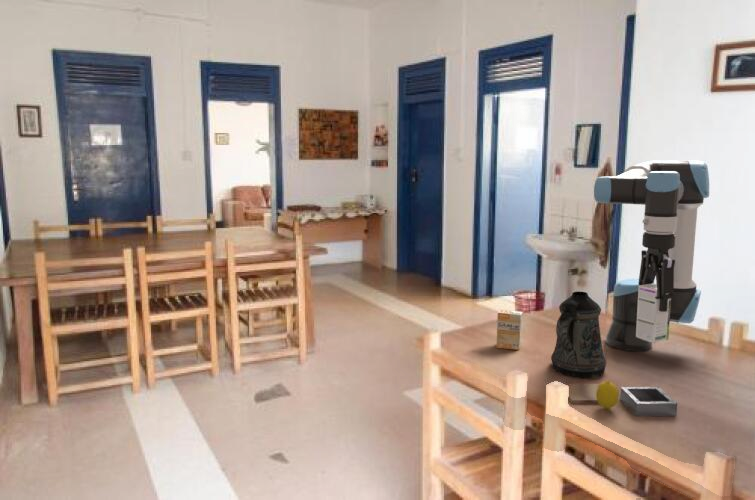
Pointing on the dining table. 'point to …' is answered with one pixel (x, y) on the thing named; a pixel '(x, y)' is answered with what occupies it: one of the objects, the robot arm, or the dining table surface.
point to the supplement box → (509, 329)
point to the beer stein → (579, 339)
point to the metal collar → (658, 408)
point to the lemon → (607, 394)
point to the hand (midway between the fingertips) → (653, 318)
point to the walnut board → (583, 393)
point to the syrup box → (650, 315)
